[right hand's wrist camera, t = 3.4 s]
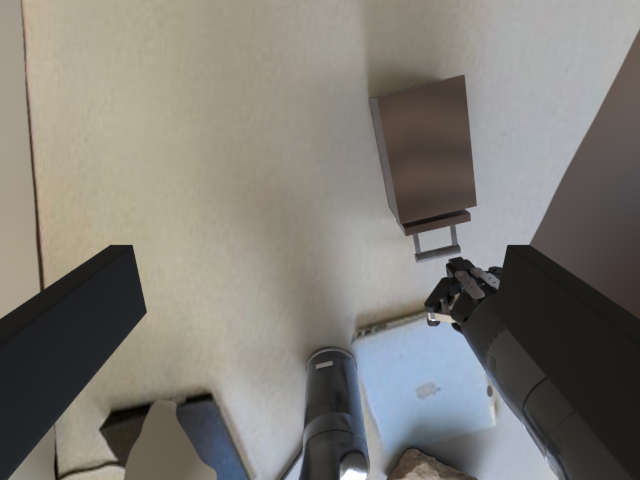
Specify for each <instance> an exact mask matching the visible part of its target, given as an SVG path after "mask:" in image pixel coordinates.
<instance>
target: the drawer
mask: <svg viewBox="0 0 640 480" xmlns="http://www.w3.org/2000/svg"><path fill="white" fill-rule="evenodd" d="M396 221H397V223H398V225H399V226H400V228H401V229H402V231H403V232H404V234H405V235H406V236H408V235H413V238H414V244H415V250H416V254H415V260H416V262H417V263H419V262H423V261H427V260H432V259H436V258H441V257H445V256H449V255H454V254H458V253H460V252H461V250H460V246H459V245H458V244H457V236H456V228H455V224H460V223H464V222H468V221H471V217H470V213H469V212H468V211H467V210H465V209H461V210H457V211H453V212H449V213H445V214H440V215H436V216H432V217H428V218H424V219H419V220H415V221H411V222H407V223H403V224H400V223H399V221H398V220H397V218H396ZM447 226H450V230H451V238H452V245H451V246H447V247H442V248H438V249H434V250H429V251H425V252H421V251H420V245H419V239H418V233H421V232H425V231H430V230H434V229H438V228H442V227H447Z"/></svg>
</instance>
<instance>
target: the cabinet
mask: <svg viewBox="0 0 640 480" xmlns="http://www.w3.org/2000/svg"><path fill="white" fill-rule="evenodd" d="M369 104H370V110H371V115H372V120H373V125H374V131H375V136H376V141H377V146H378V152H379V157H380V162H381V167H382V173H383V178H384V183H385V188H386V194H387V199H388V204H389V208H390V209H391V211H392V212H393V214H394V215H395V217H396V218H397V220H398V221H399V223H400V224H403V223H407V222H411V221H415V220H419V219H424V218H428V217H432V216H436V215H440V214H445V213H449V212H453V211H457V210H461V209H466V208H470V207H474V206H477V203H476V192H475V182H474V171H473V161H472V150H471V140H470V129H469V118H468V108H467V97H466V87H465V76H464V75H461V76H456V77H451V78H446V79H441V80H437V81H434V82H430V83H426V84H423V85H419V86H415V87H412V88H408V89H404V90H401V91H397V92H393V93H390V94H386V95H382V96H379V97H375V98H371V99H369Z"/></svg>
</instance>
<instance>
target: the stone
mask: <svg viewBox="0 0 640 480" xmlns="http://www.w3.org/2000/svg"><path fill="white" fill-rule="evenodd" d="M387 480H478V479H477V478H475V477H472V476H467V474H466V473H464V472H462V471H457V470H455V469H453V468H451V467H450V466H445V465H444V464H442V463H441V462H438V461H437V460H436V459H435V458H434V457H430V456H426V455H424V454H423V453H421V452H420V451H419V450H417V449H414V448H413V449H408V450H407V451H406V452H405V453H404V454H403V456H402V457H401V459H400V462H399V465H398V466H396V467H395V469H394V470H393V471H392V473H391V474H389V476H388V477H387Z"/></svg>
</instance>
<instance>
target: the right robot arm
mask: <svg viewBox="0 0 640 480" xmlns="http://www.w3.org/2000/svg"><path fill="white" fill-rule="evenodd" d="M146 313H147V311H146V306H145V301H144V297H143V292H142V287H141V283H140V278H139V273H138V269H137V264H136V259H135V254H134V250H133V245H110V246H108V247H107V248H105V249H104V250H102V251H101V252H99V253H98V254H96V255H95V256H93V257H92V258H90V259H89V260H87V261H86V262H85V263H83V264H82V265H80V266H79V267H77V268H76V269H74V270H73V271H71V272H70V273H68V274H67V275H65V276H64V277H62V278H61V279H59V280H58V281H56V282H55V283H53V284H52V285H50V286H49V287H47V288H46V289H44V290H43V291H41V292H40V293H38V294H37V295H35V296H34V297H32V298H31V299H29V300H28V301H26V302H25V303H23V304H22V305H21V306H19V307H18V308H16V309H15V310H13V311H12V312H10V313H9V314H7V315H6V316H4V317H3V318H1V319H0V480H8V479H9V477H10V476H11V475H12V474H13V473H14V471H15V470H16V469H17V468H18V467H19V465H20V464H21V463H22V462H23V461H24V459H25V458H26V457H27V456H28V454H29V453H30V452H31V451H32V450H33V449H34V447H35V446H36V445H37V444H38V442H39V441H40V440H41V439H42V438H43V436H44V435H45V434H46V433H47V432H48V430H49V429H50V428H51V427H52V426H53V424H54V423H55V422H56V421H57V420H58V418H59V417H60V416H61V415H62V414H63V412H64V411H65V410H66V409H67V408H68V406H69V405H70V404H71V403H72V402H73V400H74V399H75V398H76V397H77V396H78V394H79V393H80V392H81V391H82V390H83V388H84V387H85V386H86V385H87V384H88V382H89V381H90V380H91V379H92V378H93V376H94V375H95V374H96V373H97V372H98V370H99V369H100V368H101V367H102V366H103V364H104V363H105V362H106V361H107V360H108V358H109V357H110V356H111V355H112V354H113V352H114V351H115V350H116V349H117V348H118V346H119V345H120V344H121V343H122V342H123V340H124V339H125V338H126V337H127V336H128V334H129V333H130V332H131V331H132V330H133V328H134V327H135V326H136V325H137V324H138V322H139V321H140V320H141V319H142V318H143V316H144V315H145V314H146ZM493 313H494V314H495V315H496V316H497V318H498V319H499V320H500V321H501V322H502V324H503V325H504V326H505V327H506V328H507V330H508V331H509V332H510V333H511V334H512V336H513V337H514V338H515V339H516V340H517V342H518V343H519V344H520V345H521V346H522V348H523V349H524V350H525V351H526V352H527V354H528V355H529V356H530V357H531V358H532V360H533V361H534V362H535V363H536V364H537V366H538V367H539V368H540V369H541V370H542V372H543V373H544V374H545V375H546V376H547V378H548V379H549V380H550V381H551V382H552V384H553V385H554V386H555V387H556V388H557V390H558V391H559V392H560V393H561V394H562V396H563V397H564V398H565V399H566V400H567V402H568V403H569V404H570V405H571V406H572V408H573V409H574V410H575V411H576V412H577V414H578V415H579V416H580V417H581V418H582V420H583V421H584V422H585V423H586V424H587V426H588V427H589V428H590V429H591V430H592V432H593V433H594V434H595V435H596V436H597V438H598V439H599V440H600V441H601V442H602V444H603V445H604V446H605V447H606V449H607V450H608V451H609V452H610V453H611V455H612V456H613V457H614V458H615V459H616V461H617V462H618V463H619V464H620V465H621V467H622V468H623V469H624V470H625V471H626V473H627V474H628V475H629V476H630V477H631V479H632V480H640V319H639V318H637V317H636V316H634V315H633V314H631V313H630V312H628V311H627V310H625V309H624V308H622V307H621V306H619V305H618V304H617V303H615V302H614V301H612V300H611V299H609V298H608V297H606V296H605V295H603V294H602V293H600V292H599V291H597V290H596V289H594V288H593V287H591V286H590V285H588V284H587V283H585V282H584V281H582V280H581V279H579V278H578V277H576V276H575V275H573V274H572V273H570V272H569V271H567V270H566V269H564V268H563V267H561V266H560V265H558V264H557V263H555V262H554V261H553V260H551V259H550V258H548V257H547V256H545V255H544V254H542V253H541V252H539V251H538V250H536V249H535V248H533V247H532V246H530V245H507V250H506V254H505V259H504V264H503V269H502V273H501V278H500V283H499V287H498V292H497V297H496V301H495V306H494V311H493Z"/></svg>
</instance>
